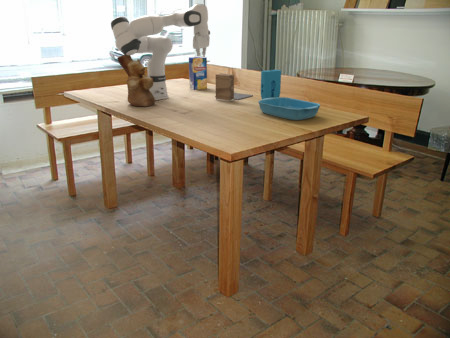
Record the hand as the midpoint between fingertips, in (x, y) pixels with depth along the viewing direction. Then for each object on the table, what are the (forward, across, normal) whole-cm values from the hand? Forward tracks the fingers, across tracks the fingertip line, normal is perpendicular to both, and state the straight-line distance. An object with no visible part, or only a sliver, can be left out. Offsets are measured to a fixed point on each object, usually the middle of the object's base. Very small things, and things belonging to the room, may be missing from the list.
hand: (201, 55), depth 280 cm
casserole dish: (+28, -27, -60) cm, 72 cm away
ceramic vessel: (+28, -26, +32) cm, 50 cm away
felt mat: (+27, +16, -17) cm, 36 cm away
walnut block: (+28, +3, -14) cm, 31 cm away
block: (+28, -1, -45) cm, 53 cm away
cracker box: (+28, +40, +17) cm, 51 cm away
